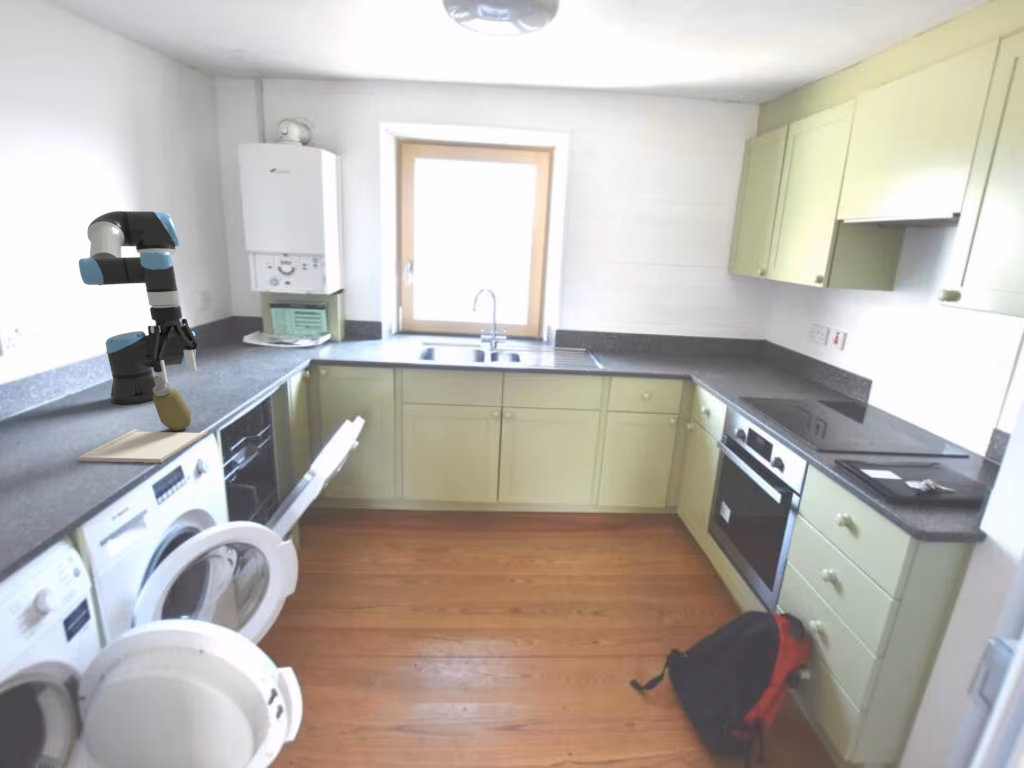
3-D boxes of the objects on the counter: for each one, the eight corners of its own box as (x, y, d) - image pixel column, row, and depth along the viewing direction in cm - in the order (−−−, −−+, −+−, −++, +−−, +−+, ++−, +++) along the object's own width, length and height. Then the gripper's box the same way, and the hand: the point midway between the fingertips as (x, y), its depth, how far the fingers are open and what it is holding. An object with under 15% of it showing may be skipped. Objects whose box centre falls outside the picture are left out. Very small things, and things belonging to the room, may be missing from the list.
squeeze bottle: (190, 413, 164) (167, 365, 153) (199, 425, 159) (176, 377, 148) (162, 425, 159) (136, 377, 149) (170, 437, 154) (144, 388, 144)
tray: (135, 432, 156) (135, 429, 155) (207, 434, 155) (206, 430, 154) (79, 461, 136) (78, 457, 136) (161, 463, 136) (160, 458, 135)
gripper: (180, 300, 164) (191, 365, 169) (119, 311, 140) (135, 387, 146) (203, 300, 163) (214, 366, 169) (147, 312, 139) (161, 388, 145)
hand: (177, 376), depth 157 cm, fingers open, 13 cm apart
